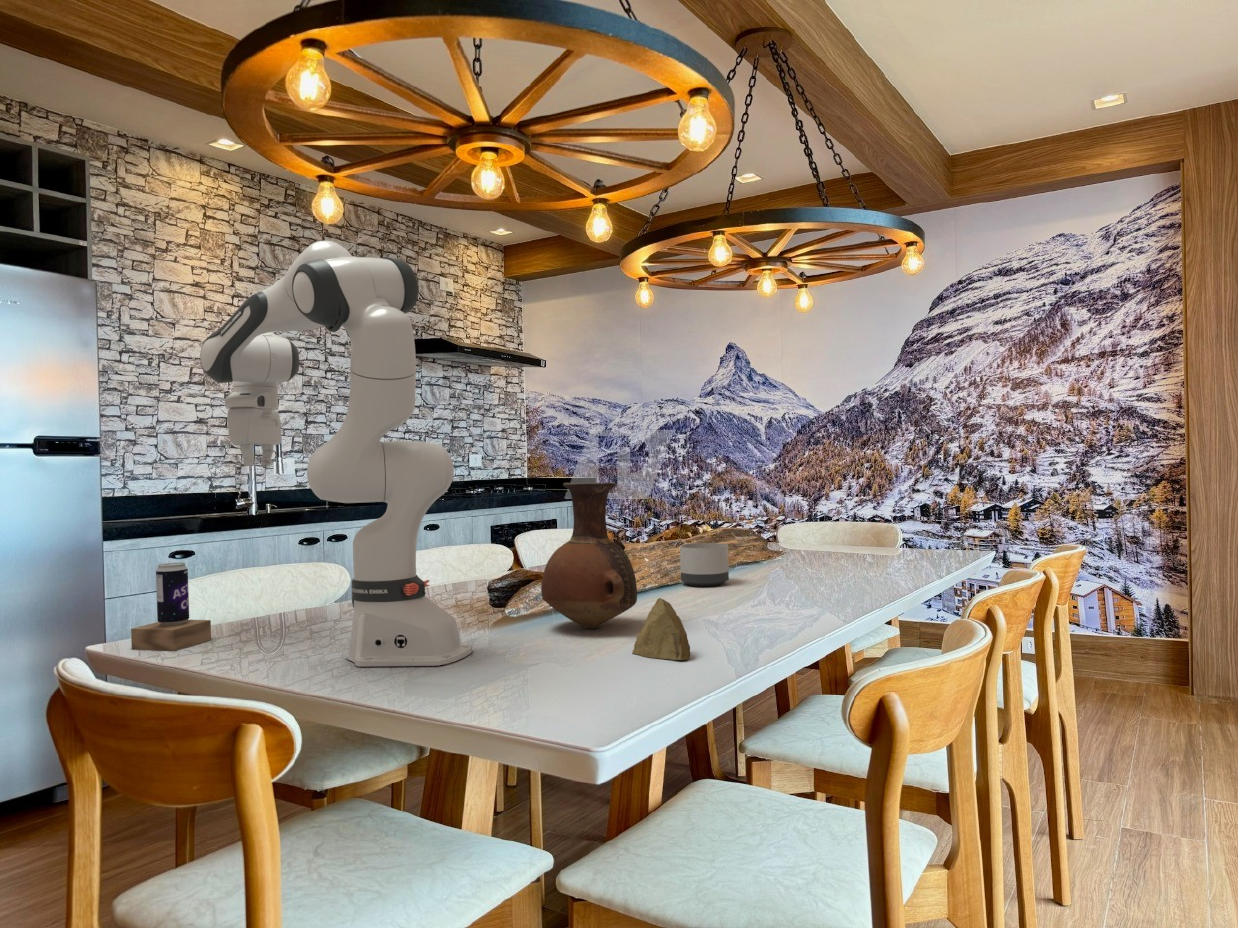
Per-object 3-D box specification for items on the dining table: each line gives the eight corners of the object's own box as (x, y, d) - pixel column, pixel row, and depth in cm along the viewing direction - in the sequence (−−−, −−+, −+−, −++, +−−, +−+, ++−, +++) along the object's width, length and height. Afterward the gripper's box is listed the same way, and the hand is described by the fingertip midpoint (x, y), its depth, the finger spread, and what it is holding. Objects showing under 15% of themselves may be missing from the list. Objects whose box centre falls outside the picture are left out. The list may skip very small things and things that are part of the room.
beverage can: (174, 626, 171) (172, 565, 171) (150, 626, 172) (148, 565, 172) (195, 621, 176) (193, 562, 176) (172, 620, 178) (170, 562, 178)
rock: (708, 646, 149) (688, 628, 159) (680, 610, 147) (662, 593, 156) (659, 688, 148) (642, 666, 157) (630, 652, 145) (615, 632, 155)
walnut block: (211, 639, 178) (210, 620, 177) (174, 650, 168) (173, 630, 168) (170, 638, 180) (169, 618, 180) (131, 649, 170) (131, 628, 170)
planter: (678, 588, 229) (677, 548, 229) (683, 580, 242) (682, 543, 241) (727, 588, 227) (726, 547, 227) (729, 580, 239) (728, 542, 239)
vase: (665, 629, 175) (661, 480, 175) (582, 644, 164) (577, 485, 164) (597, 613, 196) (593, 479, 195) (518, 625, 184) (514, 483, 184)
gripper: (259, 404, 197) (261, 465, 197) (220, 398, 176) (223, 467, 177) (287, 403, 197) (289, 465, 197) (252, 397, 177) (254, 466, 177)
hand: (257, 465), depth 187 cm, fingers open, 8 cm apart
